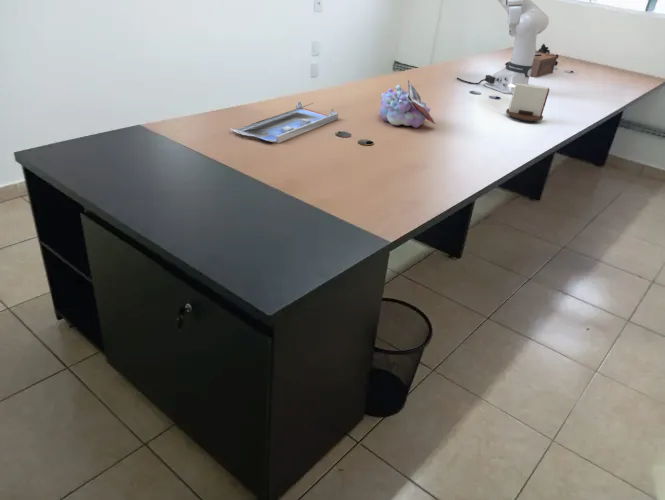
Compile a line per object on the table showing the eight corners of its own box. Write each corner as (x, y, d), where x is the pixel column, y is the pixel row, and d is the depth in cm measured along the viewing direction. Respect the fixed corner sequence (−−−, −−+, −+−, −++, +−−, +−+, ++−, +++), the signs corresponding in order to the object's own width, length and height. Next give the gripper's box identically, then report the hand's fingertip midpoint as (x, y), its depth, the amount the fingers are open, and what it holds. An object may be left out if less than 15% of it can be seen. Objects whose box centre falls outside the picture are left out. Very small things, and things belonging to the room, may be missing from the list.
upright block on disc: (507, 117, 240) (515, 87, 233) (504, 107, 254) (512, 79, 247) (544, 123, 238) (554, 93, 231) (540, 113, 252) (548, 84, 245)
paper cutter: (337, 119, 218) (339, 105, 215) (267, 147, 184) (268, 131, 181) (300, 108, 225) (301, 94, 222) (226, 133, 191) (226, 117, 188)
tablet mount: (517, 66, 385) (518, 47, 371) (526, 52, 389) (527, 33, 375) (556, 75, 372) (558, 56, 359) (564, 60, 377) (567, 41, 363)
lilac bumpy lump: (373, 99, 230) (382, 67, 214) (423, 100, 233) (435, 69, 217) (380, 138, 221) (389, 108, 205) (431, 139, 224) (445, 109, 208)
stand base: (504, 116, 246) (505, 113, 245) (517, 112, 254) (518, 110, 253) (529, 124, 239) (529, 121, 239) (541, 120, 247) (542, 117, 246)
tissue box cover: (530, 67, 351) (535, 51, 346) (552, 72, 343) (557, 56, 338) (513, 71, 333) (517, 54, 328) (535, 77, 326) (540, 59, 321)
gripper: (504, 0, 240) (502, 34, 246) (507, 1, 222) (506, 37, 228) (519, -1, 239) (517, 33, 245) (524, -1, 221) (522, 36, 226)
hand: (512, 35), depth 236 cm, fingers open, 8 cm apart
